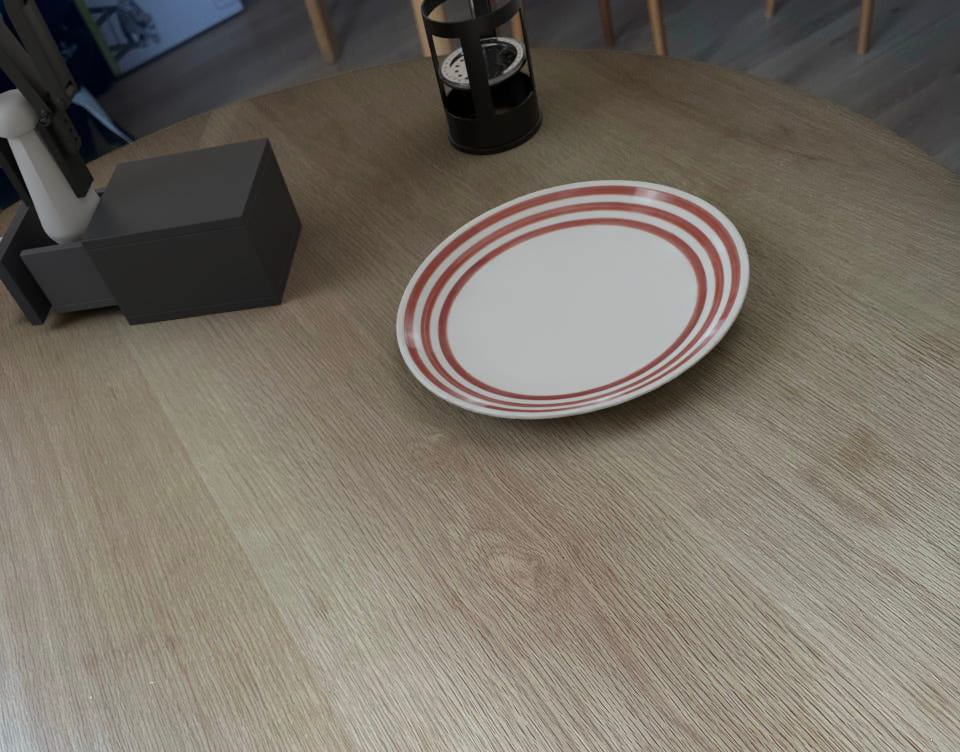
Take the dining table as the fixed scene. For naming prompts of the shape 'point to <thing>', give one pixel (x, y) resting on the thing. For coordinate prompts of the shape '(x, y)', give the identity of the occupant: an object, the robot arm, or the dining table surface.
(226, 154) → the drawer casing
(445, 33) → the french press
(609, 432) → the dining table surface
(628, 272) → the dinner plate
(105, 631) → the dining table surface
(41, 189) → the salt shaker
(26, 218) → the dark pull-out drawer box
